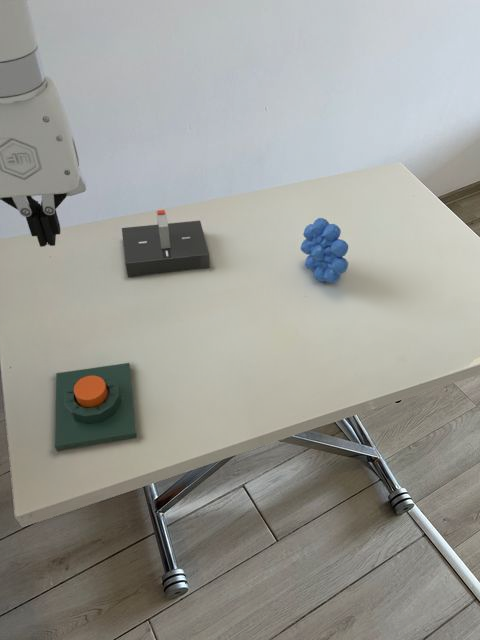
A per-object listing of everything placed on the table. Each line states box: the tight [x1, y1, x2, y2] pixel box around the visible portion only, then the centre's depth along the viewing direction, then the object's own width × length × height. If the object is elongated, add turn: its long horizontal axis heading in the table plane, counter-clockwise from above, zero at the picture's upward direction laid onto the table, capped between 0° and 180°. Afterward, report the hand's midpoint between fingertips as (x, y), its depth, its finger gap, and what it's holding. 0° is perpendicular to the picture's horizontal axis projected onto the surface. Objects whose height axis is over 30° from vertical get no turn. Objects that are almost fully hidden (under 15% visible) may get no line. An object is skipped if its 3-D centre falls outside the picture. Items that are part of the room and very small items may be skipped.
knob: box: [155, 209, 170, 249], centre depth 90 cm, size 5×2×5 cm, turn 13°
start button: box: [74, 376, 108, 408], centre depth 69 cm, size 4×4×2 cm
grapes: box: [300, 217, 349, 284], centre depth 87 cm, size 12×7×12 cm, turn 29°
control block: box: [54, 362, 138, 452], centre depth 71 cm, size 10×12×3 cm
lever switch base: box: [121, 219, 211, 278], centre depth 93 cm, size 14×10×3 cm
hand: (48, 238), depth 61 cm, fingers closed
